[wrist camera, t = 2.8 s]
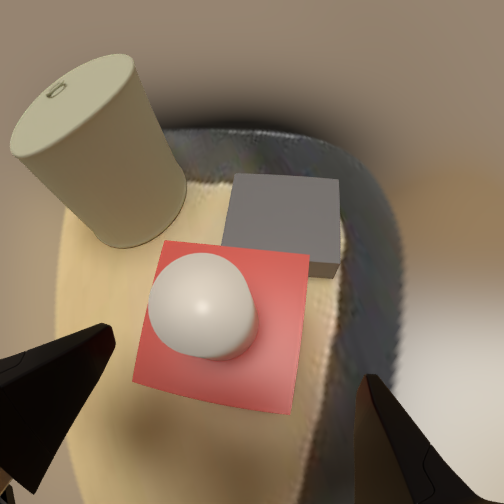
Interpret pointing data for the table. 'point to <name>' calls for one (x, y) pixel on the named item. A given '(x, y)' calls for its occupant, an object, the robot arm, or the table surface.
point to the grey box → (286, 218)
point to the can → (103, 152)
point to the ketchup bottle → (224, 325)
